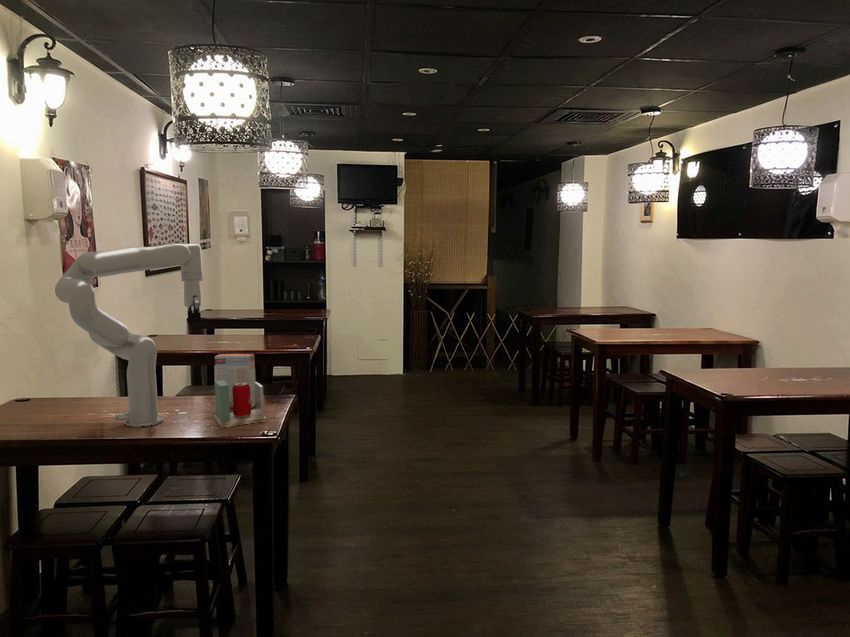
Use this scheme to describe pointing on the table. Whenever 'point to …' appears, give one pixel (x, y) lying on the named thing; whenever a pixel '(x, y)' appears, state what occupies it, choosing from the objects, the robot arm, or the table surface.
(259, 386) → the grey metal plate
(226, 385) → the grey green slab
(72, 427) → the table surface
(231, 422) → the shelf board
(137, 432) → the table surface
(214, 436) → the table surface
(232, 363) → the cracker box
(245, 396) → the beverage can
